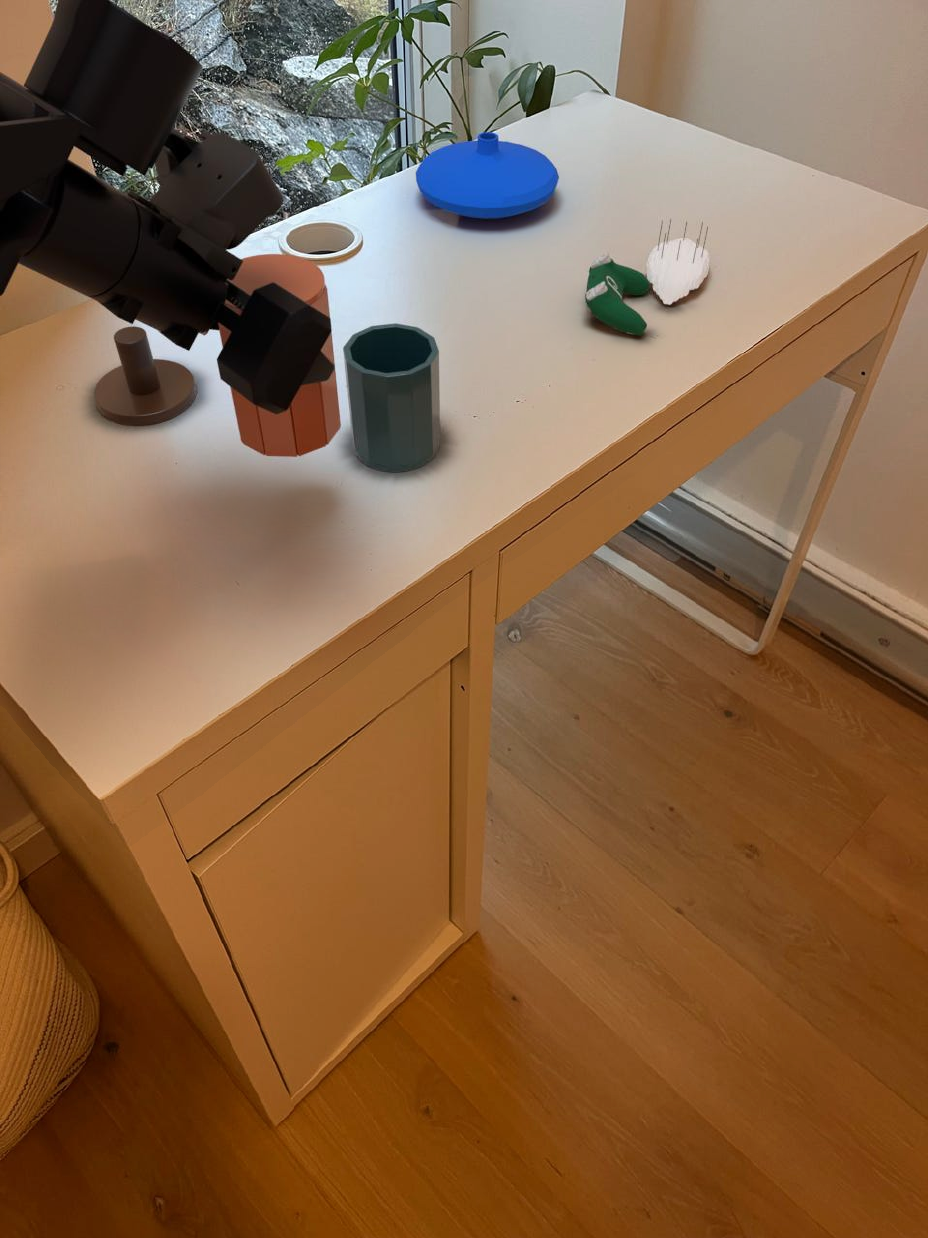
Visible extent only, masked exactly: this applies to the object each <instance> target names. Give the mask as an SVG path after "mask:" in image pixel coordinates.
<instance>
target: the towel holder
mask: <svg viewBox="0 0 928 1238" xmlns="http://www.w3.org/2000/svg"><path fill="white" fill-rule="evenodd" d="M113 341H114V345H115V347H116V350H117V355H118V357H119V361H120V364H121V365H118V366H117V367H114V368H113V369H111V370H110V371H108V372H107V373H106V374H104V375H103V376H102V377H101V378H100V379H99V380H98V382H97V383H96V385H95V387H94V392H93V397H94V401H95V403H96V407H97V409H98V411H99V413H100V414H101V415H102V416H104V418H106V419H107V420H109V421H110V422H113V423H116V424H120V425H126V426H149V425H155V424H159V423H162V422H165V421H169V420H170V419H173V418H175V417H177V416H178V415H180V414H182V413H183V412H185V411H186V410H187V409H188V408H189V407H190V406H191V405H192V403H194V400H195V399H196V395H197V385H196V381H195V377H194V374H193V373H192V372H191V371H190V369H189V368H188V367H186V366H185V365H183V364H181V363H179V362H175V361H173V360H168V359H163V358H162V359H161V358H153V353H152V349H151V346H150V341H149V339H148V335H147V331H146V330H145V329H144V328H143V327H140V326H126V327H123V328H120V329H118V330H117V331H116V332H115V333H114V334H113Z"/></svg>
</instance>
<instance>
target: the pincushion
mask: <svg viewBox="0 0 928 1238" xmlns="http://www.w3.org/2000/svg"><path fill="white" fill-rule="evenodd" d="M663 222H664V221H663V220H661V226H660V232H659V238H658V243H657V245H656V246H654V247H653V249H652V251H651V252H650V253H649V255H648V258H647V260H646V265H645V269H646V271H645V272H646V273H645V274H646V278H647V279H648V281H649V283H650V284H652V289H653V292H655V293H656V295H657V296H658V297H659V299H660V300H662V302H663V305H669V306H670V305H672V304H673V303H674V302H677V301H678V300H679V299H683V297H687V296H688V295H689V293H690V291H694V290H697V289H698V288H699V287H700V286H701V284H702V283H703V282H704V279H705V278H707V276H708V273H709V270H710V266H711V257H710V254H709V251H708V250H707V248H705V244H706V239H707V235H708V230H709V229H708V228H709V226H706V231H705V236H704V240H703V241H704V242H703V246H702V245H700V241H701V240H700V239H701V234H702V229H703V224H704V223H703V221H702V222H701V226H700V230H699V231H700V232H699V237H698V238H697V239H696V242H694V240H692V239H690V238H687V237H686V231H687V225H688V221H686V223H685V229H684V234H683V237H678V238H675V239H670V240H669V233H670V230H671V229H670V228H671V222H672V218H670V220H669V226H668V232H667V233H665V235H664V240H663V242H661V243H660V241H661V235H662V229H663V224H664V223H663ZM685 237H686V238H685Z"/></svg>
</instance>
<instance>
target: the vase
mask: <svg viewBox="0 0 928 1238" xmlns="http://www.w3.org/2000/svg"><path fill="white" fill-rule="evenodd" d="M559 180H560V175H559V172H558V169H557V168H556V166H555V165H554V163H553V162H552V161H551V160H550V159H549V158H548V156H547V155H546V154H543V153H542V152H540V151H538V150H537V149H534V148H532V147H529V146H527V145H523V144H520V143H515V142H511V141H504V140H503V141H502V140H499V135H498V134H497V133H495V132H491V131H484V132H481V133H479V134H478V135H477V140H469V141H462V142H461V141H460V142H454V143H452V144H449V145H446V146H443V147H439V148H438V149H436V150H434V151H432V152H430V153H429V154H428V155H427V156H426V157H424V158H423V160H422V161H421V162H420V164H419V165H418V167H417V169H416V171H415V182H416V184H417V187H418V190H419V192H420V193H421V195H422V196H423V197H424V199H425V200H426V201H428V202H429V203H431V204H432V205H433V206H435V207H437V208H440V209H442V210H444V211H447V212H448V213H452V214H455V215H459V216H463V217H467V218H471V219H483V220H492V219H502V218H510V217H513V216H517V215H520V214H523V213H526V212H529V211H532V210H533V211H534V210H536V209H537V208H539V207H541V206H543V205H544V204H546V203H547V202H548V201H549V200H550V199H551V198H552V197H553V196H554V194H555V191H556V189H557V186H558V182H559Z"/></svg>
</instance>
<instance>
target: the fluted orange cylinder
mask: <svg viewBox="0 0 928 1238" xmlns="http://www.w3.org/2000/svg"><path fill="white" fill-rule="evenodd" d="M240 259H241V260H242V261H243V263H242V265H241V266H240V268H239V270H238V272H237V274H236V276H235V278H234V279H233V280H229V279H228V280H229V281H231V282H232V283H234V284H235V285H237V286H238V287H240V288H241V289H243V290H244V291H245V292H247V293H248V294H250V295H252V293H253V291H254V290H255V289H257V288H260V287H262V286H265V285H267V284H270V283H272V282H274V283H276V284H278V285H279V286H281V287H282V288H284V289H286V290H287V291H289V292H290V293H292V294H294V295H295V296H297V297H298V298H300V299H302V300H303V301H305V302H306V303H308V304H309V305H311V306H312V307H314V308H315V309H317V310H319V311H320V312H322V313H323V314H325V315H326V316H328V317H329V318H331V314H330V312H331V311H330V304H329V303H330V302H329V292H328V287H327V284H326V279H325V275H324V272H323V271H322V269H321V268H320V267H319V266H318V265H317V264H316V263H314V262H312V261H311V260H308V259H306V258H303V257H300V256H295V255H291V254H290V255H289V254H283V253H266V254H256V255H250V256H247V257H243V258H240ZM225 304H226V305H228V306H229V307H231V308H232V309H234V310H235V311H236V312H238V313H239V314H241V313H242V310H240V309H239V308H237V307H236V306H235V305H233V304H232V303H230V302H229V301H228V300H226V301H225ZM218 327H219V330H218V331H219V337H220V342H221V348H223V347H224V345H225V343H226V341H227V339H228V337H229V335H230V334H231V331H230V330H228V329H227V328H225V327H224V326H223V325H221V324H220V323H219V322H218ZM332 333H333V332H331V333H330V335H329V337H328V339H327V341H326V342H325V344H324V346H323V348H322V349H321V351H322V352H323V353H324V355H325V356H326V357H327V358H328V359H329V360H330V361H331V362H332V363H333V364H334V366H335V367H336V364H335V363H336V362H335V353H334V342H333V334H332ZM336 374H337V373H336V368H335V369H334V371H333V373H332V374H331V376H330V378H329V379H328V380H327V381H323V382H318V383H312V384H307V385H301V387H300V388H299V390H298V392H297V394H296V396H295V397H294V399H293V401H292V403H291V404H290V406H289V408H288V410H287V411H285V412H282V413H279V414H277V415H276V414H274V413H272V412H269V411H267V410H265V409H263V408H260V407H258V406H256V405H254V404H253V403H251V402H250V401H249V400H247V399H246V398H245V397H244V396H242V395H241V394H240V393H238V392H237V391H236V390H234V389H233V388H232V387H230V386H229V388H230V389H229V390H230V395H231V398H232V403H233V409H234V415H235V419H236V424H237V429H238V433H239V438H240V442H241V443H242V444H243V445H244V446H247V447H248V448H250V449H252V450H254V451H255V452H257V453H258V454H261V455H263V456H266V457H284V458H286V457H287V458H297V457H302V456H304V455H308V454H310V453H312V452H314V451H318V450H319V449H322V448H324V447H327V446H328V445H329V444H330V443H331V442H332V440H333V439H334V437H335V436H336V435H337V433H338V432H339V431H340V429H341V427H342V424H341V414H340V403H339V394H338V392H339V391H338V382H337V375H336Z"/></svg>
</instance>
